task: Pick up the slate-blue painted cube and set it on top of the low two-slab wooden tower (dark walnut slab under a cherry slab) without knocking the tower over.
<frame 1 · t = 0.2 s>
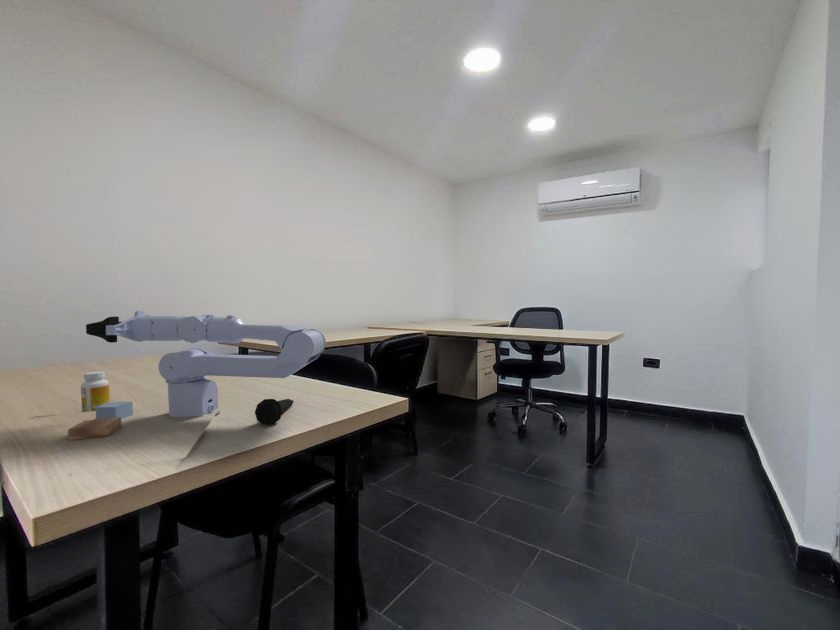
hand: (102, 328, 88), 21 cm above the table, tool horizontal, fingers open, 7 cm apart
tower mid: (96, 433, 74), point 1 cm above the table, touching tower base
cube: (115, 424, 85), on the table
tower base: (95, 443, 74), on the table, touching tower mid
microphone: (282, 415, 89), on the table
supplement bottle: (96, 412, 96), on the table
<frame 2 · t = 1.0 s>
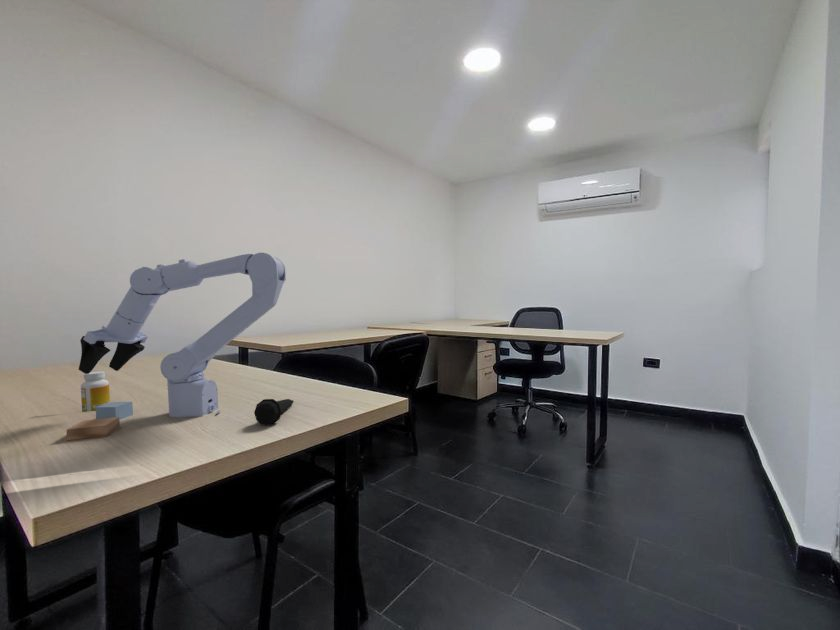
hand: (99, 370, 85), 12 cm above the table, tool tilted 30°, fingers open, 7 cm apart
nothing on the table moved.
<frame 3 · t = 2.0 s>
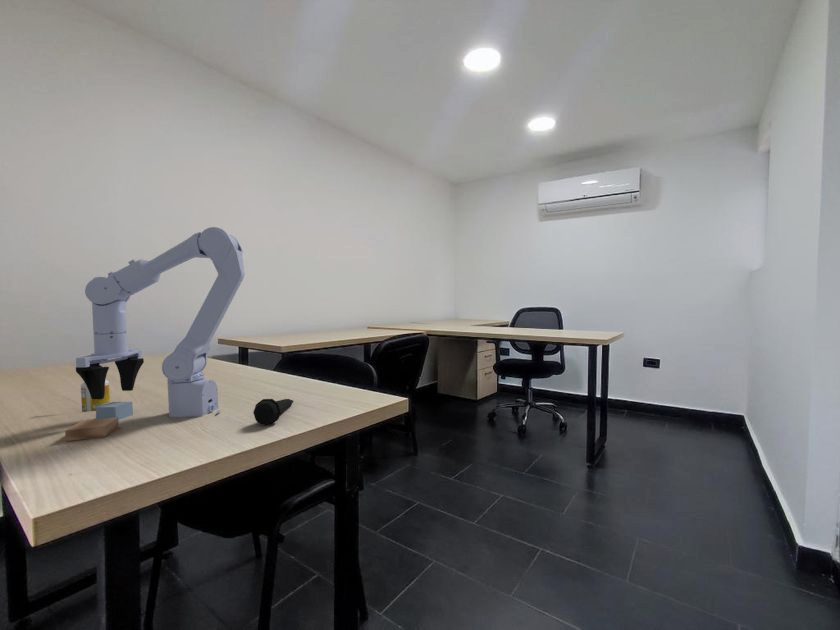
hand: (113, 394, 84), 7 cm above the table, tool pointing down, fingers open, 7 cm apart
nothing on the table moved.
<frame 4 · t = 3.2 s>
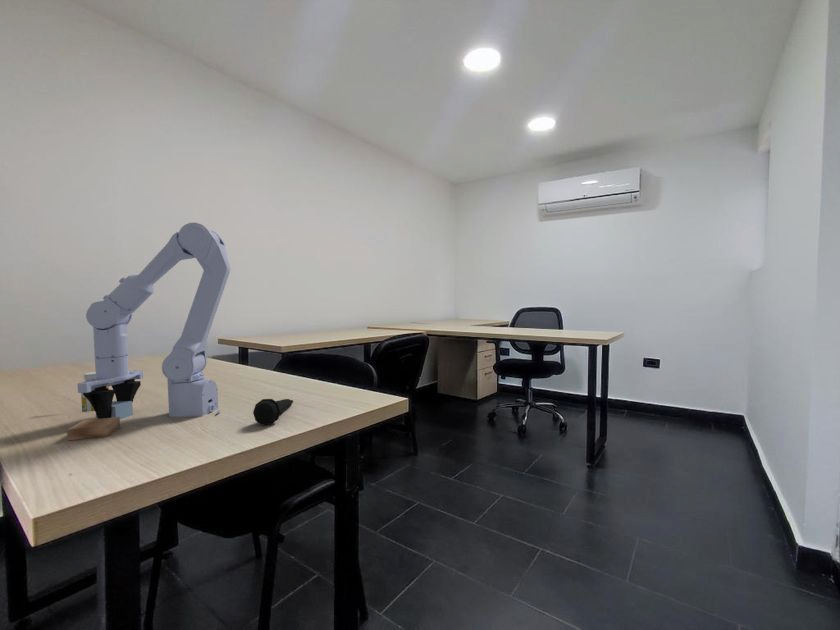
hand: (114, 417, 85), 1 cm above the table, tool pointing down, fingers closed on cube, 4 cm apart
tower mid: (95, 433, 74), point 1 cm above the table
cube: (115, 424, 85), on the table, touching gripper
tower base: (96, 443, 74), on the table
everything else where it was.
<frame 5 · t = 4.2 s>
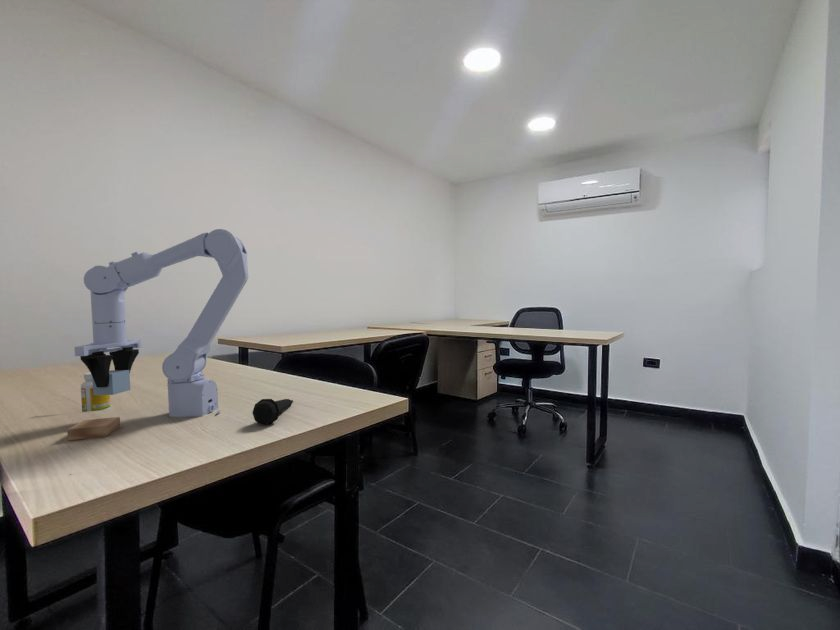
hand: (112, 384, 84), 9 cm above the table, tool pointing down, fingers closed on cube, 4 cm apart
tower mid: (95, 433, 74), point 1 cm above the table, touching tower base
cube: (112, 392, 84), point 7 cm above the table, touching gripper
tower base: (97, 443, 74), on the table, touching tower mid
everything else where it was.
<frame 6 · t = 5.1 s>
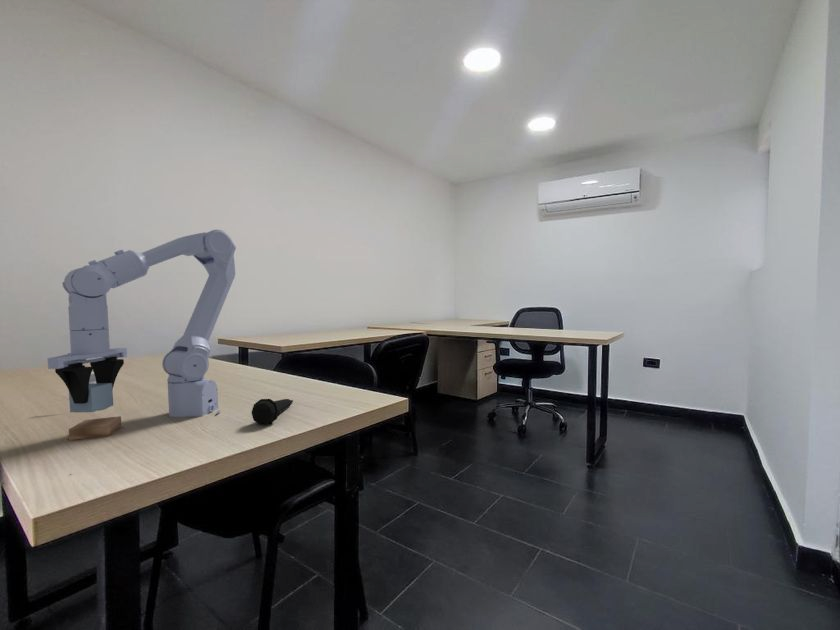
hand: (93, 399, 74), 8 cm above the table, tool pointing down, fingers closed on cube, 4 cm apart
cube: (92, 408, 74), point 6 cm above the table, touching gripper
everything else where it was.
when the fingers open (7 cm above the table, at t = 5.8 s): cube drops 1 cm, point 3 cm above the table.
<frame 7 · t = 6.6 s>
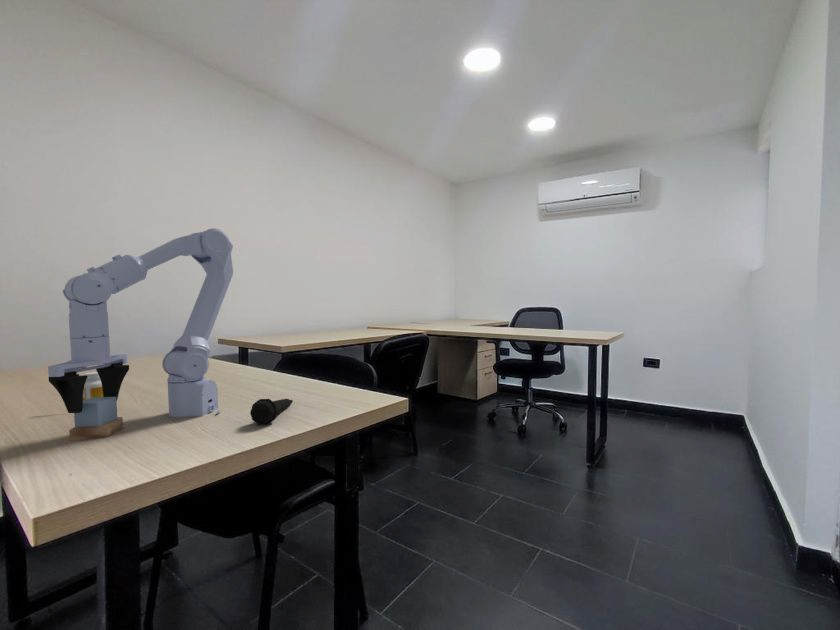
hand: (93, 406, 74), 7 cm above the table, tool pointing down, fingers open, 7 cm apart
cube: (96, 422, 74), point 3 cm above the table
everything else where it was.
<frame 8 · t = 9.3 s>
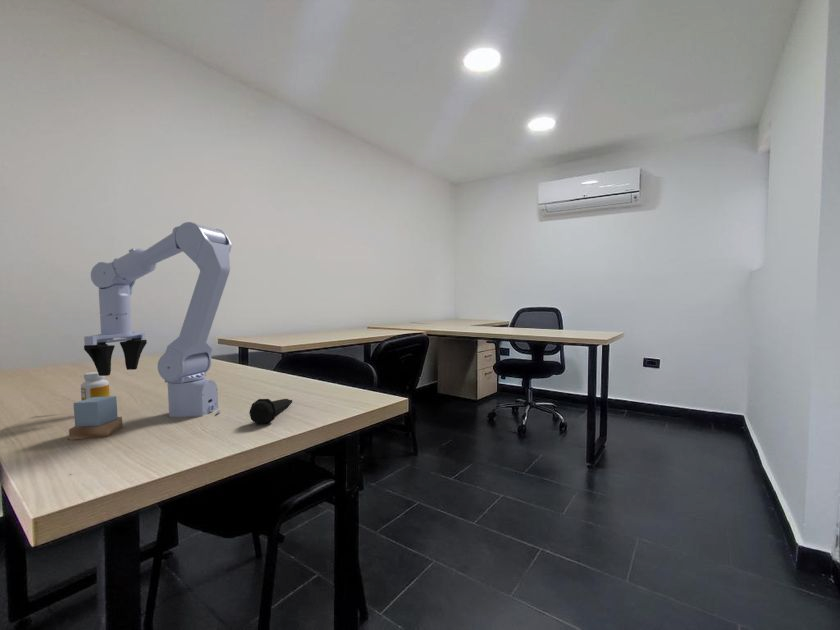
hand: (118, 372, 91), 10 cm above the table, tool pointing down, fingers open, 7 cm apart
tower mid: (97, 432, 74), point 1 cm above the table, touching cube, tower base
cube: (97, 422, 74), point 3 cm above the table, touching tower mid
everything else where it was.
at the end: cube 0.1 cm off-centre on the tower mid, point 2.0 cm above the tower mid's base; cube tilted 0°; tower mid moved 0.8 cm from its start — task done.
